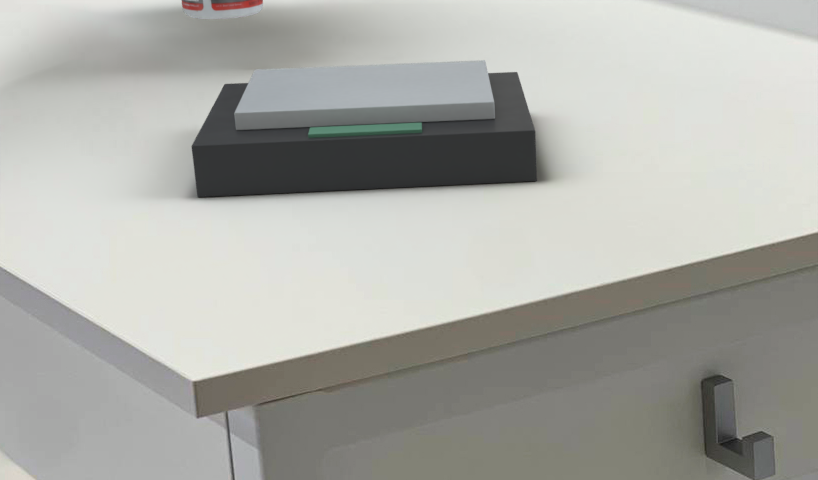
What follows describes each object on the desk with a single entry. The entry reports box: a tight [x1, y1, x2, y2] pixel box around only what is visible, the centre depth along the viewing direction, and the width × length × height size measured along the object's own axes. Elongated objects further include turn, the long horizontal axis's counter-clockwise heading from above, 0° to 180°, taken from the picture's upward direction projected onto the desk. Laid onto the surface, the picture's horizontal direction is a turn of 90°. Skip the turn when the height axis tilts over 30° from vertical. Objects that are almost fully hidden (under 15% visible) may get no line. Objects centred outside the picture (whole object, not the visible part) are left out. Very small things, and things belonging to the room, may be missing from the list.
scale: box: [191, 59, 538, 198], centre depth 93 cm, size 18×16×4 cm
